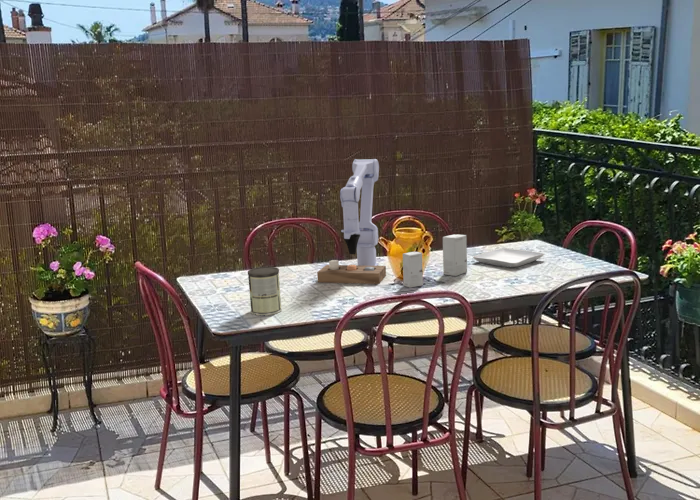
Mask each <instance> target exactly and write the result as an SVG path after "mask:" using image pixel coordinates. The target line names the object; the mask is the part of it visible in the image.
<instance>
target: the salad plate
mask: <svg viewBox="0 0 700 500" xmlns="http://www.w3.org/2000/svg"><path fill="white" fill-rule="evenodd" d="M544 255H545V253H544V252H537V251H532V250H525V249H523V250H522V249H515V248H505V247H501V248H497V249H492V250H489V251H486V252H483V253H479V254H476V255H473V256H472V259H473V260H475V261H477V262H479V263H483V264H487V265H492V266H497V267H505V268H517V267H518V268H519V267H520V266H524V265H527V264H529V263H533V262H535V261H536V260H540V259H541V258H542V257H543V256H544Z"/></svg>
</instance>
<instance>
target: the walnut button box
mask: <svg viewBox="0 0 700 500" xmlns="http://www.w3.org/2000/svg"><path fill="white" fill-rule="evenodd" d="M347 265H348V264H339V270H330V267H329V264H325V265H324V266H323V267H322V268H321V269H319V270H318V271H317V272H316V274H317V278H316V279H317V283H325V284H326V283H329V284H332V283H333V284H367V285H368V284H371V285H372V284H374V285H380V284H381V283H382V282H383V280H384V279H385V278H386V277H387V266H386V265H377V266H365V265H358V264H357V265H356V264H355V265H356V270H347ZM365 267H374V271H365Z"/></svg>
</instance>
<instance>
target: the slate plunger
mask: <svg viewBox="0 0 700 500" xmlns="http://www.w3.org/2000/svg"><path fill="white" fill-rule="evenodd" d="M365 271H374V267H365Z"/></svg>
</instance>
